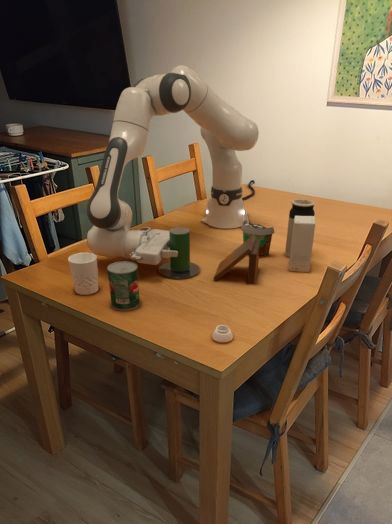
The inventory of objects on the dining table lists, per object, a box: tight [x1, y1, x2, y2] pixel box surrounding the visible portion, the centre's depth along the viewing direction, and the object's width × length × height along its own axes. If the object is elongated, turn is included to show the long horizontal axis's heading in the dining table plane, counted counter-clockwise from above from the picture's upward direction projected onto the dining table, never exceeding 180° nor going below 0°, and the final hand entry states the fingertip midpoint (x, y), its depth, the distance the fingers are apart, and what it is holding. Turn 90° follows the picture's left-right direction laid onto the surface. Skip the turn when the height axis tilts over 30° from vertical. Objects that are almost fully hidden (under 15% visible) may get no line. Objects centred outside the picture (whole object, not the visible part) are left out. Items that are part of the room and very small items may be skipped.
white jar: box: [211, 324, 234, 343], centre depth 112 cm, size 5×3×5 cm
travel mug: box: [284, 198, 316, 258], centre depth 153 cm, size 8×8×18 cm
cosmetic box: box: [289, 215, 316, 273], centre depth 145 cm, size 8×7×16 cm
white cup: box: [67, 252, 99, 296], centre depth 133 cm, size 8×8×10 cm
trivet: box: [158, 261, 201, 280], centre depth 147 cm, size 13×13×1 cm
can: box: [168, 226, 191, 271], centre depth 143 cm, size 6×13×13 cm
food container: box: [240, 220, 275, 258], centre depth 156 cm, size 12×6×10 cm, turn 47°
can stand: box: [213, 235, 260, 285], centre depth 142 cm, size 12×12×11 cm
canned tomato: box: [106, 260, 141, 312], centre depth 125 cm, size 8×8×11 cm
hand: (181, 248), depth 143 cm, fingers closed on can, 6 cm apart
